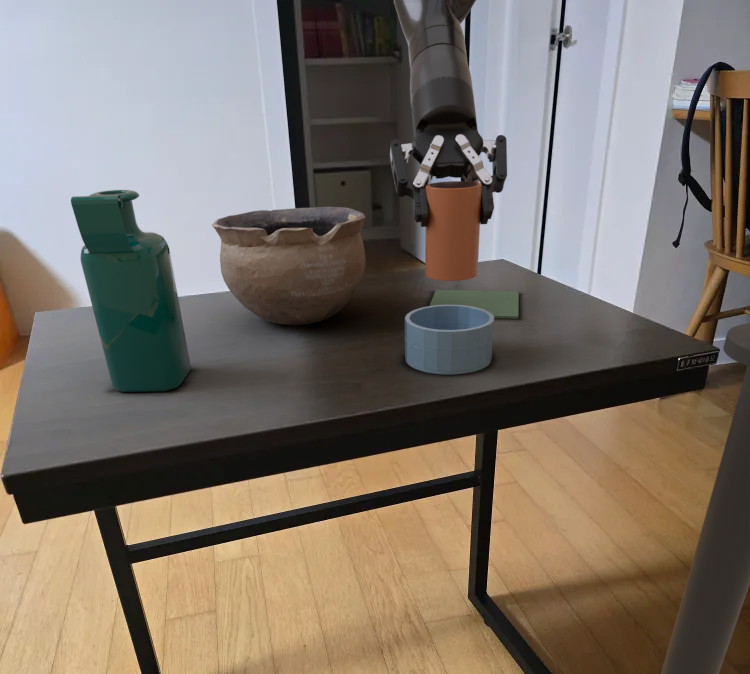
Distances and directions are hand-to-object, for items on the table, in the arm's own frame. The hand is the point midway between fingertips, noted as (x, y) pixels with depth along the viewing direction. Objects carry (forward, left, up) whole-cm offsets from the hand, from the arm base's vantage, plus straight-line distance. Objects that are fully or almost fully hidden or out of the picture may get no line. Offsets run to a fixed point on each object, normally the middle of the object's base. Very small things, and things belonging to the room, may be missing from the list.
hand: (455, 221), depth 77 cm
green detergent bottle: (+36, +11, -17) cm, 42 cm away
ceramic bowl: (+25, -17, -17) cm, 35 cm away
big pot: (0, -1, -17) cm, 17 cm away
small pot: (0, -2, -6) cm, 7 cm away
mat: (-2, -26, -17) cm, 32 cm away
